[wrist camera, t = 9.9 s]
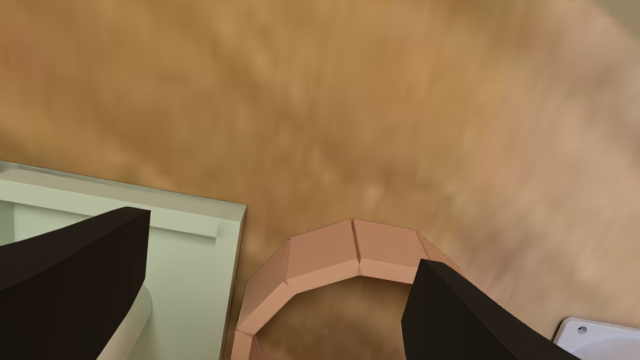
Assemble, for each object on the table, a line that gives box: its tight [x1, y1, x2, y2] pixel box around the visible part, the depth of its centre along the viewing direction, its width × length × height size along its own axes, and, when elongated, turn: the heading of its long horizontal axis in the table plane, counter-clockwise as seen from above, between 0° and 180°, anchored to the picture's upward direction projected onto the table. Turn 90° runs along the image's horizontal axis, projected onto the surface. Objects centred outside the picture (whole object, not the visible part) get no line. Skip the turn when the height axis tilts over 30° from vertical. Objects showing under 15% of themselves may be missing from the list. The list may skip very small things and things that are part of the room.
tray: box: [0, 160, 247, 360], centre depth 23 cm, size 12×13×2 cm
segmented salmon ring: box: [231, 219, 466, 360], centre depth 23 cm, size 13×13×4 cm
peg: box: [97, 284, 152, 360], centre depth 20 cm, size 4×4×7 cm
